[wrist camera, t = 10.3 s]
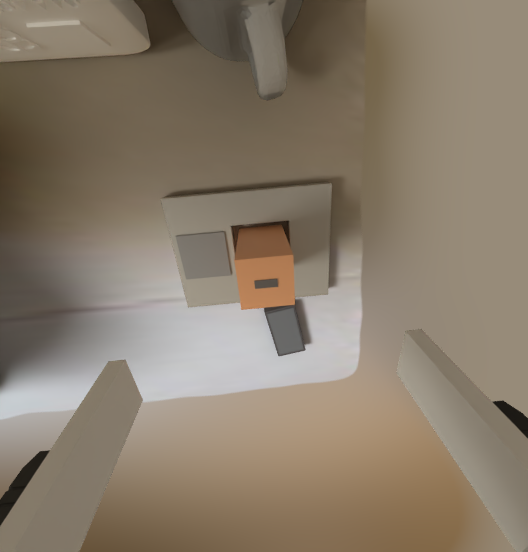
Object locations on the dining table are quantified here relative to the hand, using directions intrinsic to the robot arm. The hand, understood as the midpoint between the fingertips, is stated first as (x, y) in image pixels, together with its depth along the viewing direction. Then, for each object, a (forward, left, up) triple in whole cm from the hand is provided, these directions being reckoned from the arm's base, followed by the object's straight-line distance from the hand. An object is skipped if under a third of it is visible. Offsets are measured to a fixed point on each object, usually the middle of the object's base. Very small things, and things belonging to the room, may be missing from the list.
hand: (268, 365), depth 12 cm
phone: (+2, -11, -17) cm, 20 cm away
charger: (0, 0, -17) cm, 17 cm away
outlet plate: (-1, 0, -17) cm, 17 cm away
